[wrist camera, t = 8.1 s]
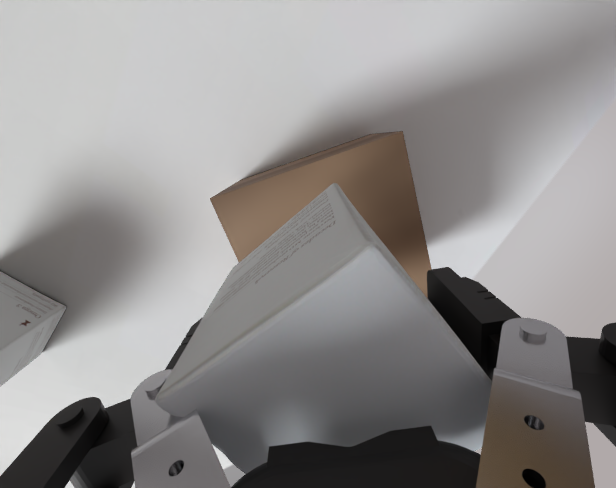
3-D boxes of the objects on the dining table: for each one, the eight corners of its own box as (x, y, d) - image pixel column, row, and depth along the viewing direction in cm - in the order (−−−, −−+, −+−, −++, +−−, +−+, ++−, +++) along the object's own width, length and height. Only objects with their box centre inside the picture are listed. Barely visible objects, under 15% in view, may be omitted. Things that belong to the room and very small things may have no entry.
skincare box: (415, 280, 13) (533, 433, 6) (314, 349, 15) (322, 536, 8) (334, 177, 12) (377, 236, 5) (228, 265, 13) (141, 410, 6)
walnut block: (240, 179, 24) (209, 198, 16) (370, 134, 22) (402, 131, 15) (286, 291, 27) (279, 349, 20) (400, 257, 26) (438, 304, 18)
